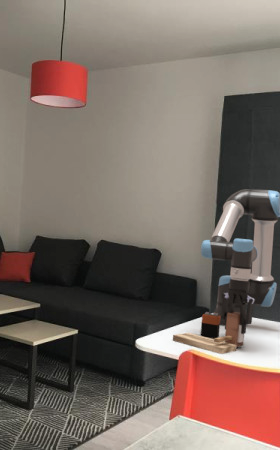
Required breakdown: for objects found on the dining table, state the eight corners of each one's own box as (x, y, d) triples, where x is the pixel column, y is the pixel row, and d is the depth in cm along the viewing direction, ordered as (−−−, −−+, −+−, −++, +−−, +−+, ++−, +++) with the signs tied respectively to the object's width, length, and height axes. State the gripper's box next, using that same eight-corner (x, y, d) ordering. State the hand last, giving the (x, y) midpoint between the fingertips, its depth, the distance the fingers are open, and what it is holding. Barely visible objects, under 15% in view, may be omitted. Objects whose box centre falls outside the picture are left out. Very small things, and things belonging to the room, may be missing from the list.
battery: (216, 339, 206) (218, 314, 206) (200, 336, 208) (202, 312, 208) (218, 337, 210) (221, 313, 210) (202, 334, 212) (205, 310, 212)
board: (187, 337, 203) (188, 332, 203) (236, 350, 189) (236, 344, 189) (172, 340, 196) (173, 334, 196) (221, 353, 181) (222, 348, 181)
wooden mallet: (232, 342, 198) (235, 311, 198) (242, 345, 195) (245, 314, 195) (209, 347, 186) (212, 314, 186) (220, 350, 183) (223, 317, 183)
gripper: (214, 276, 197) (209, 336, 197) (255, 282, 185) (249, 346, 185) (225, 276, 203) (219, 334, 203) (265, 282, 191) (259, 344, 191)
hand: (234, 340), depth 194 cm, fingers closed on wooden mallet, 4 cm apart
